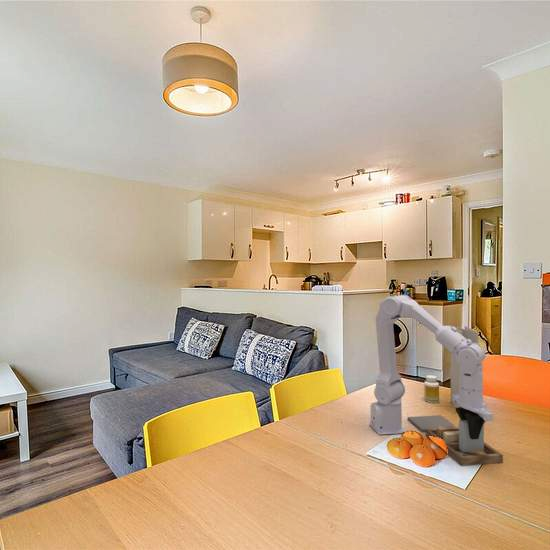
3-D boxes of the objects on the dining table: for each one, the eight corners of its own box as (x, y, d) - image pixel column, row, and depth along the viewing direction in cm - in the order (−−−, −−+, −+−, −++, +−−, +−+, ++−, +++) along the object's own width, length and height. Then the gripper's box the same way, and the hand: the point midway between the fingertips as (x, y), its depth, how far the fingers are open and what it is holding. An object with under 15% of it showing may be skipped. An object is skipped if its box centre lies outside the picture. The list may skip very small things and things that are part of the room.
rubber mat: (422, 432, 116) (422, 429, 116) (407, 419, 126) (407, 417, 126) (457, 430, 118) (457, 427, 118) (440, 417, 128) (440, 415, 128)
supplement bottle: (441, 403, 141) (441, 378, 141) (427, 403, 141) (427, 378, 141) (435, 398, 147) (435, 374, 147) (422, 398, 147) (422, 374, 147)
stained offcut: (440, 443, 110) (440, 429, 110) (436, 439, 112) (436, 427, 112) (465, 441, 110) (465, 428, 110) (461, 438, 112) (461, 425, 112)
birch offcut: (447, 448, 106) (447, 435, 106) (443, 445, 108) (443, 432, 108) (472, 446, 107) (472, 433, 107) (468, 443, 109) (468, 430, 109)
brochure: (478, 417, 127) (478, 332, 127) (461, 416, 129) (461, 331, 128) (466, 403, 141) (465, 326, 141) (450, 402, 142) (450, 325, 142)
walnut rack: (461, 465, 96) (461, 458, 96) (425, 435, 114) (425, 429, 114) (502, 462, 98) (502, 455, 98) (461, 433, 116) (461, 426, 116)
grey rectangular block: (463, 452, 100) (463, 423, 100) (459, 448, 102) (458, 420, 102) (483, 450, 101) (483, 422, 101) (479, 447, 103) (478, 419, 103)
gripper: (503, 396, 94) (503, 448, 95) (467, 379, 109) (468, 424, 109) (478, 397, 94) (478, 449, 94) (445, 380, 108) (446, 426, 108)
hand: (471, 436), depth 101 cm, fingers closed on grey rectangular block, 2 cm apart
